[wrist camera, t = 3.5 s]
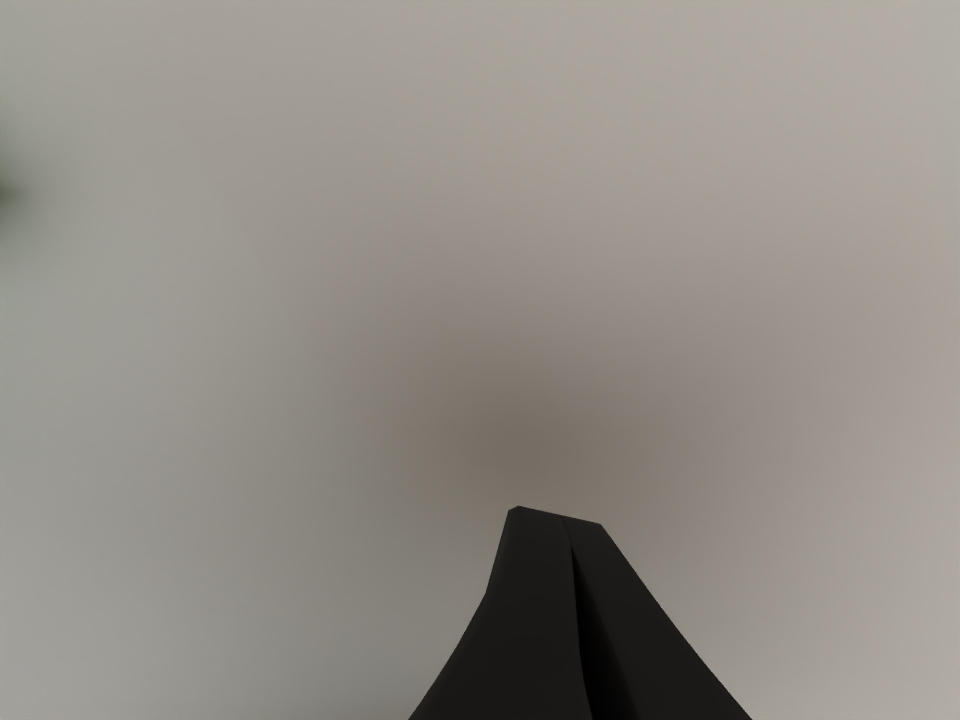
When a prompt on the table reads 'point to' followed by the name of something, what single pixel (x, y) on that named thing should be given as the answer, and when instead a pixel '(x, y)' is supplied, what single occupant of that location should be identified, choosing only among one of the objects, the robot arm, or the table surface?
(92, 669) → the table surface
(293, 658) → the table surface
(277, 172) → the table surface
